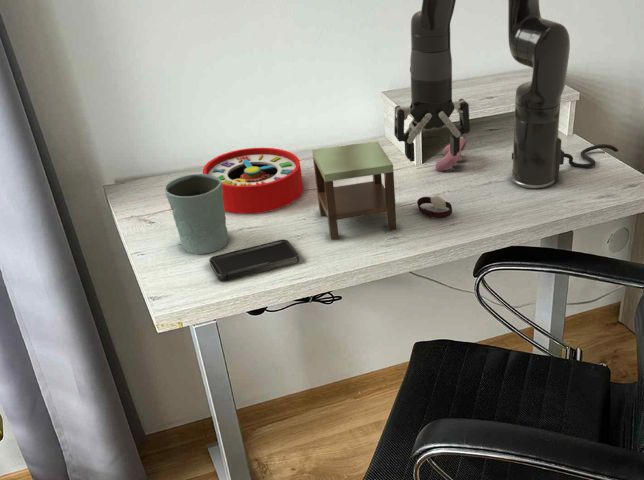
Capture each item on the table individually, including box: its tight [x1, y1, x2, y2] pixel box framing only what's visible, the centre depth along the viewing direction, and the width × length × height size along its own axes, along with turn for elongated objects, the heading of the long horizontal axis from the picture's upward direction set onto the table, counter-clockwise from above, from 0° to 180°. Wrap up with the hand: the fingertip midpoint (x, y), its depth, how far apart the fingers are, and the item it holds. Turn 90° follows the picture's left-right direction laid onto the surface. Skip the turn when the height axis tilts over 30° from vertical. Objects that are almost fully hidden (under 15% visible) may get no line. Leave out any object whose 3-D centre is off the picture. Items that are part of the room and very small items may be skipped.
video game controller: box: [435, 136, 468, 172], centre depth 182 cm, size 10×5×7 cm, turn 168°
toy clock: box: [202, 147, 304, 215], centre depth 171 cm, size 20×6×20 cm
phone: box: [208, 239, 300, 282], centre depth 149 cm, size 8×1×15 cm
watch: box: [416, 194, 453, 219], centre depth 163 cm, size 8×5×4 cm, turn 59°
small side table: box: [311, 140, 398, 241], centre depth 158 cm, size 13×12×14 cm
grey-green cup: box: [164, 173, 229, 255], centre depth 152 cm, size 10×10×12 cm
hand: (432, 157), depth 157 cm, fingers open, 8 cm apart
